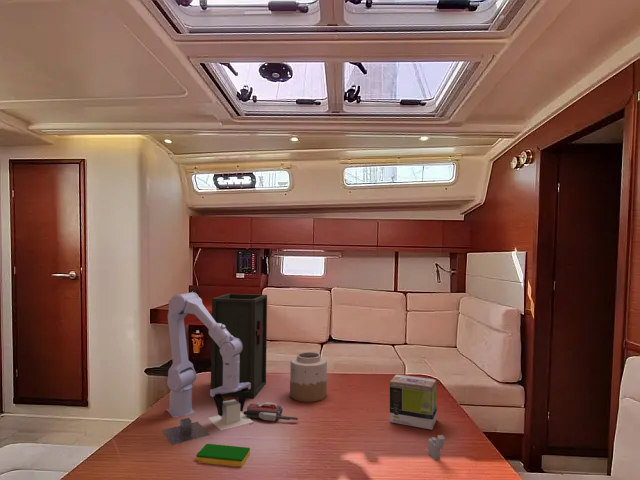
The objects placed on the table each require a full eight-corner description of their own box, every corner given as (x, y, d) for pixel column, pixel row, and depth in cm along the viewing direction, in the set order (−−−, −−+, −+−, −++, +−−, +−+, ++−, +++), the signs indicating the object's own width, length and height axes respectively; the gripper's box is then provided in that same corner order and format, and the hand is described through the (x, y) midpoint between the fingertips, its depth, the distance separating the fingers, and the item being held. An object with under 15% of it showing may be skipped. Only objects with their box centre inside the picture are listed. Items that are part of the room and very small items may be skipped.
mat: (207, 419, 145) (207, 417, 145) (239, 411, 152) (239, 410, 152) (220, 432, 135) (220, 430, 135) (253, 423, 142) (253, 421, 142)
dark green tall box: (226, 381, 186) (228, 293, 187) (266, 383, 183) (267, 294, 184) (210, 395, 168) (212, 298, 168) (253, 398, 165) (255, 299, 166)
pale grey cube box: (221, 419, 144) (221, 402, 144) (234, 415, 147) (234, 399, 147) (226, 424, 140) (226, 406, 140) (240, 420, 143) (240, 403, 143)
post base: (161, 431, 135) (162, 418, 135) (197, 423, 142) (197, 410, 142) (172, 446, 125) (172, 431, 125) (209, 436, 132) (210, 422, 132)
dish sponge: (241, 468, 114) (241, 459, 114) (195, 463, 116) (195, 454, 116) (250, 455, 121) (250, 447, 121) (206, 451, 123) (206, 443, 123)
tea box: (437, 419, 147) (437, 378, 147) (432, 431, 138) (432, 387, 138) (395, 412, 153) (396, 372, 153) (388, 422, 144) (389, 380, 144)
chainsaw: (241, 419, 144) (297, 424, 142) (242, 406, 144) (297, 411, 142) (247, 410, 152) (300, 414, 151) (248, 398, 153) (301, 402, 151)
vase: (333, 393, 172) (333, 353, 172) (313, 405, 159) (314, 362, 160) (303, 386, 180) (304, 348, 181) (282, 397, 167) (283, 356, 168)
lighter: (428, 453, 123) (428, 426, 123) (433, 452, 123) (433, 425, 123) (439, 465, 116) (439, 437, 116) (445, 465, 116) (445, 436, 116)
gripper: (215, 380, 136) (214, 421, 136) (254, 373, 145) (254, 411, 144) (208, 375, 142) (207, 414, 142) (246, 368, 150) (245, 405, 150)
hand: (230, 412), depth 144 cm, fingers open, 7 cm apart
